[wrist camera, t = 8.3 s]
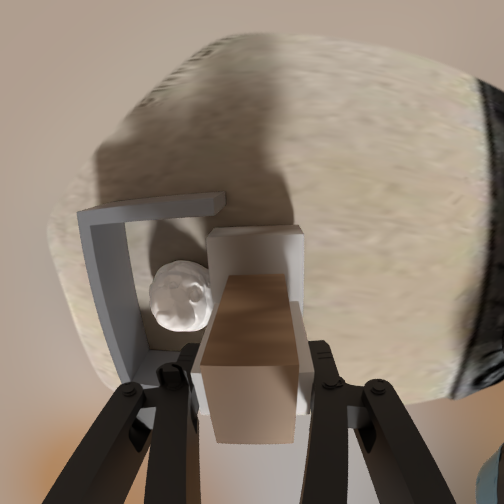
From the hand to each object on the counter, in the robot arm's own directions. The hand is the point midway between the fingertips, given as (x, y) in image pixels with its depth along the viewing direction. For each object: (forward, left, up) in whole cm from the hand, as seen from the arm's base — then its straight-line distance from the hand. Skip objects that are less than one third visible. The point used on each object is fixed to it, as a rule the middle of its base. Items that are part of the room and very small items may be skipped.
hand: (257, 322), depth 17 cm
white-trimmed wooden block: (0, 0, -5) cm, 5 cm away
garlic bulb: (+6, 0, -6) cm, 8 cm away
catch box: (+7, 0, -6) cm, 9 cm away
